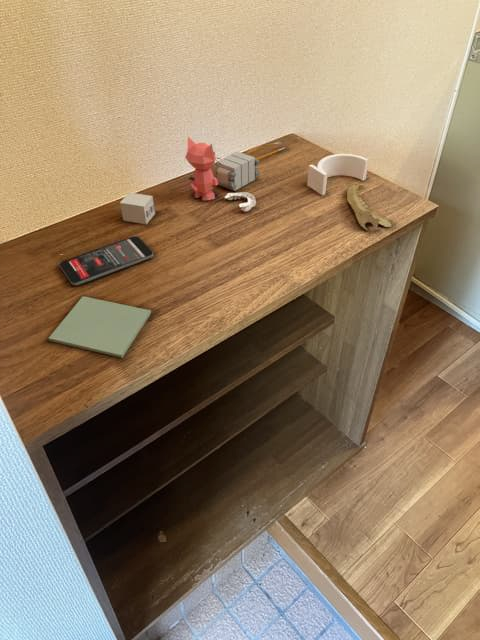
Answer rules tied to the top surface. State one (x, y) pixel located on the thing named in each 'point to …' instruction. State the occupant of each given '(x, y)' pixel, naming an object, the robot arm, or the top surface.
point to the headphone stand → (336, 170)
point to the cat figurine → (202, 169)
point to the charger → (137, 208)
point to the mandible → (363, 209)
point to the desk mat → (101, 326)
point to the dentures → (240, 195)
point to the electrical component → (239, 169)
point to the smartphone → (105, 260)
